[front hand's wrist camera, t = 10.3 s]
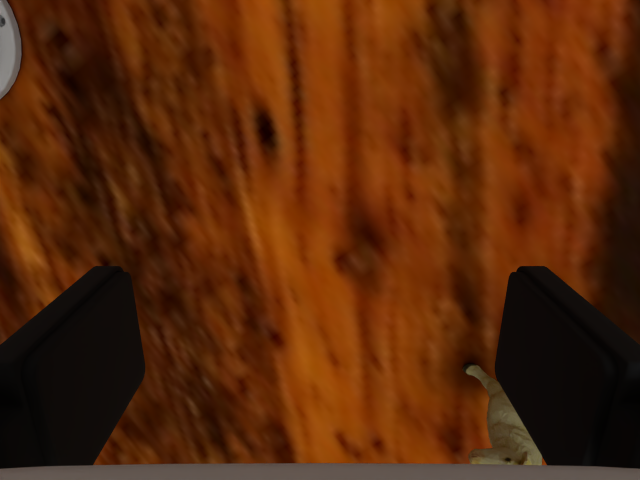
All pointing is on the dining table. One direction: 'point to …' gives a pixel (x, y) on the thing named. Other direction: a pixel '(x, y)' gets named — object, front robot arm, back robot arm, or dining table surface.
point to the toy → (503, 429)
